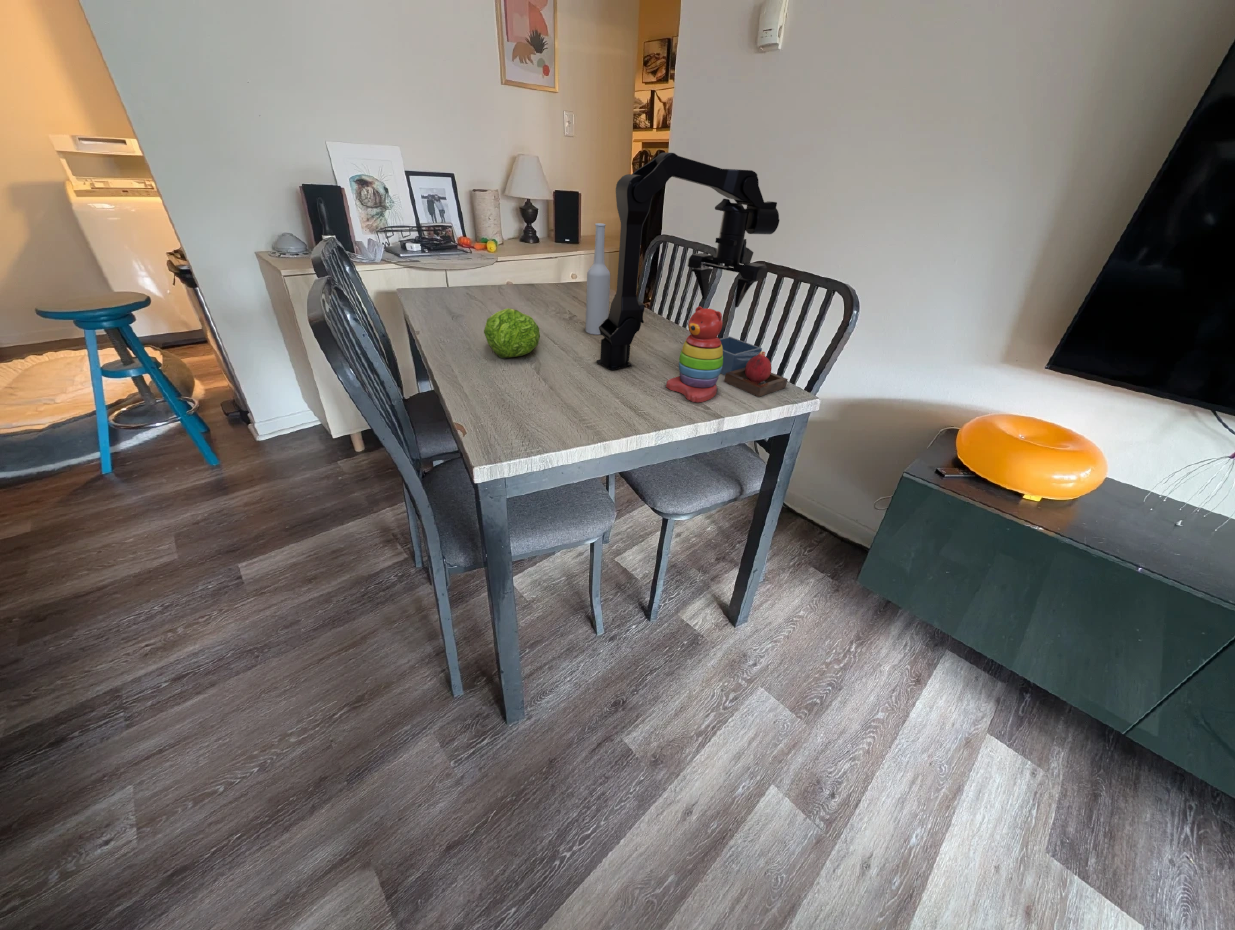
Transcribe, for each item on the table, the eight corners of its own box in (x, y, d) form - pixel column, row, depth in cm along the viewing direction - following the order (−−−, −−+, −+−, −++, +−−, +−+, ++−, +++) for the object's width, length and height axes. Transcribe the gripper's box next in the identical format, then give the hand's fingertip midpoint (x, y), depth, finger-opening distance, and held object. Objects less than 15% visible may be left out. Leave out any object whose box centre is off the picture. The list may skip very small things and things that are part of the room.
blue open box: (730, 377, 113) (734, 355, 110) (698, 363, 119) (702, 342, 116) (757, 369, 118) (762, 348, 115) (725, 356, 125) (729, 336, 122)
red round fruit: (761, 392, 106) (769, 357, 102) (737, 384, 109) (744, 351, 105) (771, 384, 110) (779, 351, 106) (748, 377, 113) (755, 345, 109)
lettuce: (534, 313, 131) (494, 285, 124) (552, 335, 111) (506, 303, 104) (511, 348, 134) (471, 323, 127) (524, 376, 114) (477, 348, 107)
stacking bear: (661, 386, 106) (671, 305, 96) (694, 377, 111) (706, 300, 102) (695, 404, 99) (709, 318, 89) (728, 394, 104) (745, 312, 94)
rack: (758, 397, 104) (760, 387, 103) (724, 381, 110) (725, 372, 109) (785, 387, 109) (787, 379, 108) (751, 373, 116) (753, 365, 114)
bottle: (607, 335, 135) (612, 226, 120) (584, 333, 135) (586, 224, 120) (608, 328, 140) (613, 223, 125) (586, 327, 140) (588, 221, 125)
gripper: (785, 237, 109) (769, 306, 117) (715, 227, 119) (705, 291, 127) (763, 240, 102) (747, 313, 110) (691, 229, 112) (682, 297, 120)
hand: (720, 303), depth 117 cm, fingers open, 9 cm apart
